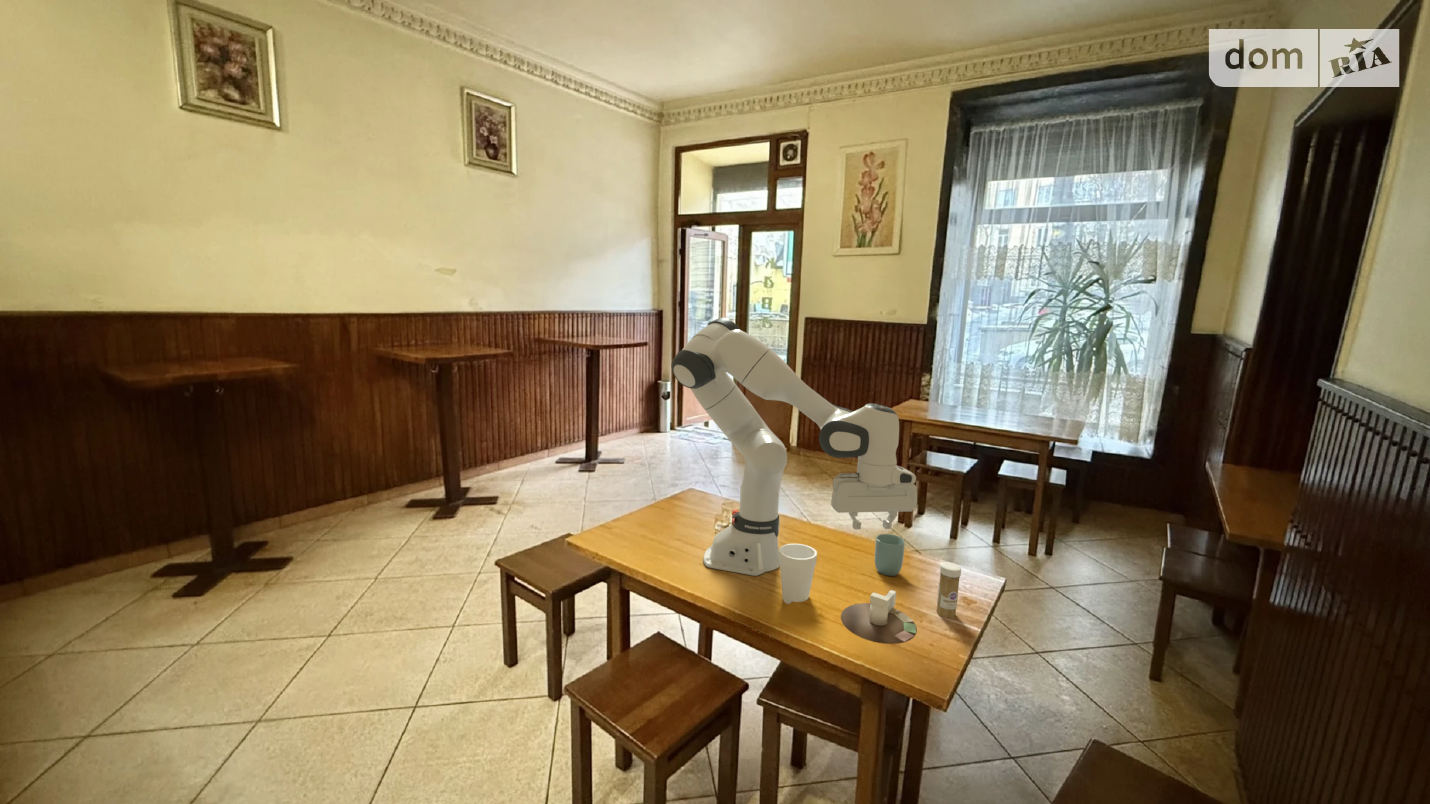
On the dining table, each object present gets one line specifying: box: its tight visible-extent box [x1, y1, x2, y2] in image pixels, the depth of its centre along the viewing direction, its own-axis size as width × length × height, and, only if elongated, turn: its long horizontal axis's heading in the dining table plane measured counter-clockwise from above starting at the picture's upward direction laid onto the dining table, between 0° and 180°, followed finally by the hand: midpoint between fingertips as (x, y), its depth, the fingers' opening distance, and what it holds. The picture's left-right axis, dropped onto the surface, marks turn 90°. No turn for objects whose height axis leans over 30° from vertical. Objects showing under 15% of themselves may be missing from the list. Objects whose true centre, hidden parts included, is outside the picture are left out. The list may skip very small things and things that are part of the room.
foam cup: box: [779, 543, 818, 605], centre depth 141 cm, size 10×9×13 cm
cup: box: [874, 533, 906, 577], centre depth 157 cm, size 8×8×10 cm
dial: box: [840, 602, 918, 645], centre depth 131 cm, size 17×17×1 cm
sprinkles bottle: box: [936, 561, 962, 619], centre depth 134 cm, size 5×5×13 cm
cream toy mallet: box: [869, 589, 897, 626], centre depth 133 cm, size 11×4×6 cm, turn 142°
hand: (871, 528), depth 135 cm, fingers open, 6 cm apart
